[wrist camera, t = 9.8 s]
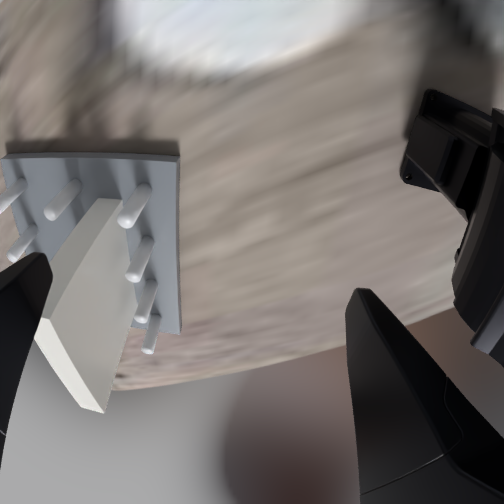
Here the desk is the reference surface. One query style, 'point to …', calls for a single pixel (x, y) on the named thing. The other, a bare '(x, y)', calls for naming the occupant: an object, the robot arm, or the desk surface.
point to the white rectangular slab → (89, 306)
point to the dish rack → (131, 218)
